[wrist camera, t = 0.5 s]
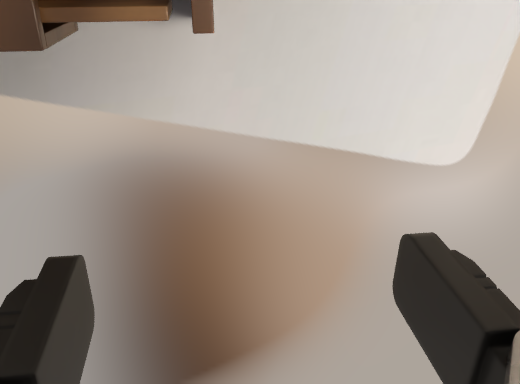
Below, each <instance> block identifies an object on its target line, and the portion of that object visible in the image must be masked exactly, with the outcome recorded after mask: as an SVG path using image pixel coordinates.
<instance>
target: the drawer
mask: <svg viewBox="0 0 520 384" xmlns="http://www.w3.org/2000/svg"><path fill="white" fill-rule="evenodd" d="M37 1H38V6H39V11H40V16H41V21H42V23H57V22H113V21H167V20H169V18H170V15H171V12H172V10H173V8H172V0H37ZM191 9H192V24H193V33H194V34H197V33H214V17H213V0H191Z"/></svg>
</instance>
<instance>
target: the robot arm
mask: <svg viewBox="0 0 520 384" xmlns="http://www.w3.org/2000/svg"><path fill="white" fill-rule="evenodd" d="M393 294H394V299H395V302H396V304H397V306H398V308H399V310H400V312H401V313H402V315H403V317H404V318H405V320H406V322H407V323H408V325H409V327H410V328H411V330H412V332H413V333H414V335H415V337H416V338H417V340H418V342H419V343H420V345H421V347H422V348H423V350H424V352H425V354H426V355H427V357H428V359H429V360H430V362H431V363H432V365H433V367H434V369H435V370H436V372H437V374H438V375H439V377H440V379H441V380H442V382H443V384H520V310H519V309H518V308H517V307H516V306H515V305H514V304H513V303H512V302H511V301H510V300H509V299H508V297H506V295H505V294H504V293H503V292H502V291H501V290H500V289H497V287H496V285H495V284H494V283H493V282H492V281H491V279H490V278H488V277H486V274H485V273H484V272H483V271H482V270H481V269H480V267H479V266H478V265H477V264H476V263H475V262H473V261H472V260H471V259H469V258H467V257H466V256H464V255H463V254H461V253H459V252H458V251H456V250H450V249H449V248H448V247H447V246H446V245H445V244H444V242H443V241H442V240H441V239H440V238H439V237H438V236H437V235H436V234H435V233H432V232H431V233H418V234H405V235H403V236H402V238H401V240H400V245H399V251H398V257H397V262H396V267H395V273H394V279H393ZM93 328H94V305H93V300H92V295H91V289H90V284H89V279H88V275H87V270H86V264H85V260H84V258H83V256H82V255H74V256H61V257H60V256H59V257H48V258H47V259H46V261H45V263H44V265H43V268H42V270H41V272H40V274H39V276H38V278H37V279H34V280H24V281H23V282H22V283H21V284H19V285H18V286H17V287H16V288H15V289H14V290H13V291H12V292H10V293H9V294H8V295H7V296H6V298H5V300H4V302H3V304H2V305H1V307H0V384H80V380H81V376H82V372H83V368H84V364H85V360H86V357H87V353H88V349H89V345H90V341H91V337H92V333H93Z"/></svg>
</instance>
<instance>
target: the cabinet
mask: <svg viewBox="0 0 520 384" xmlns="http://www.w3.org/2000/svg"><path fill="white" fill-rule="evenodd" d="M76 31H78V26H77V22H57V23H42V21H41V16H40V11H39V6H38V1H37V0H0V52H8V51H43V50H44V49H46V48H49V47H50V46H52V45H54V44H55V43H57V42H59V41H61V40H62V39H64V38H66V37H67V36H69V35H71V34H72V33H74V32H76Z"/></svg>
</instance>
